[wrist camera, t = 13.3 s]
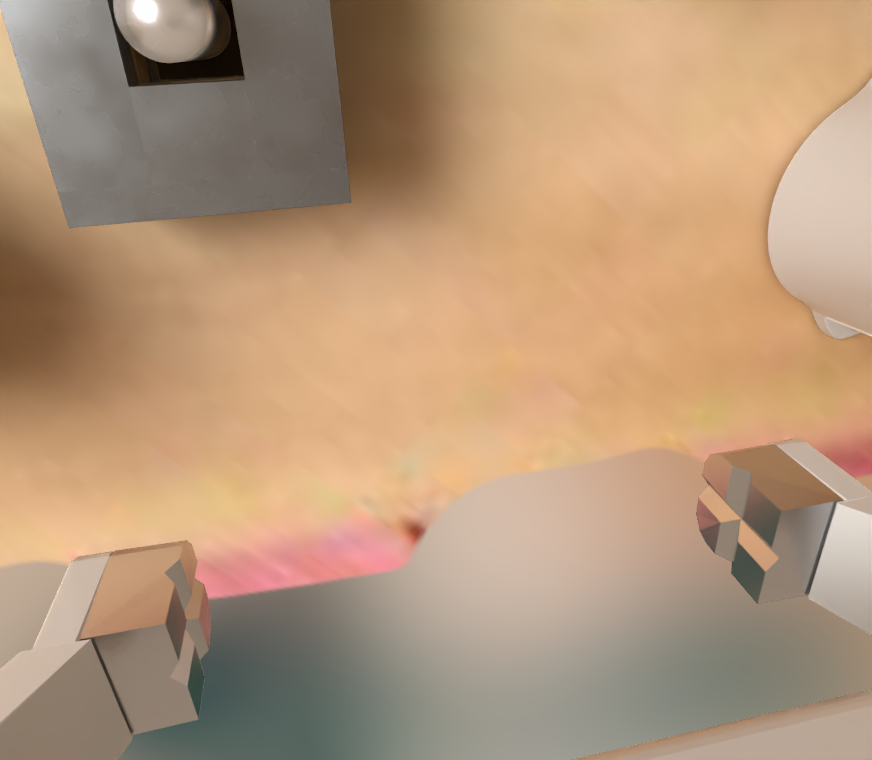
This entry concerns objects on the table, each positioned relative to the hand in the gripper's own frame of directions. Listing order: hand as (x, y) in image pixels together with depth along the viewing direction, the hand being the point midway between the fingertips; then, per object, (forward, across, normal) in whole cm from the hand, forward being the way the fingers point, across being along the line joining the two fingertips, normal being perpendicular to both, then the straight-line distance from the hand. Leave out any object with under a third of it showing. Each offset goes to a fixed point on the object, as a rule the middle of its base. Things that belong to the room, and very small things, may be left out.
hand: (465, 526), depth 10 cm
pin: (+29, -6, +8) cm, 31 cm away
